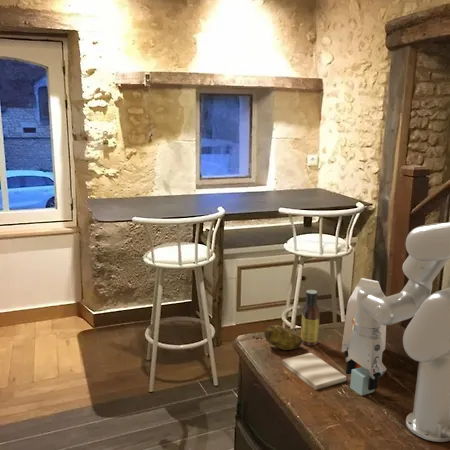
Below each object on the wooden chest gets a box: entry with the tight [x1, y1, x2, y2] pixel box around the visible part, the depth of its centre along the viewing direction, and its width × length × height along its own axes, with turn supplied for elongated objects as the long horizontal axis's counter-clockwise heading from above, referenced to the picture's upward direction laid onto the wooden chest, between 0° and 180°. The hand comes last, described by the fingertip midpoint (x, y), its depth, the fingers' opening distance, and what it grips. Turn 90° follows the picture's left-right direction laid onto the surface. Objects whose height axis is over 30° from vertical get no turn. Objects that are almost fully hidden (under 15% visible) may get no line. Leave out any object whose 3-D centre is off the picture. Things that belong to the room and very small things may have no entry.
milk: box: [340, 277, 387, 353], centre depth 179 cm, size 12×12×26 cm
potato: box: [263, 324, 303, 351], centre depth 182 cm, size 8×13×8 cm, turn 72°
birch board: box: [281, 352, 347, 391], centre depth 166 cm, size 18×12×2 cm, turn 28°
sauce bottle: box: [300, 289, 320, 347], centre depth 185 cm, size 6×6×20 cm
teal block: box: [349, 367, 376, 396], centre depth 155 cm, size 5×5×6 cm
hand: (361, 380), depth 156 cm, fingers open, 9 cm apart
